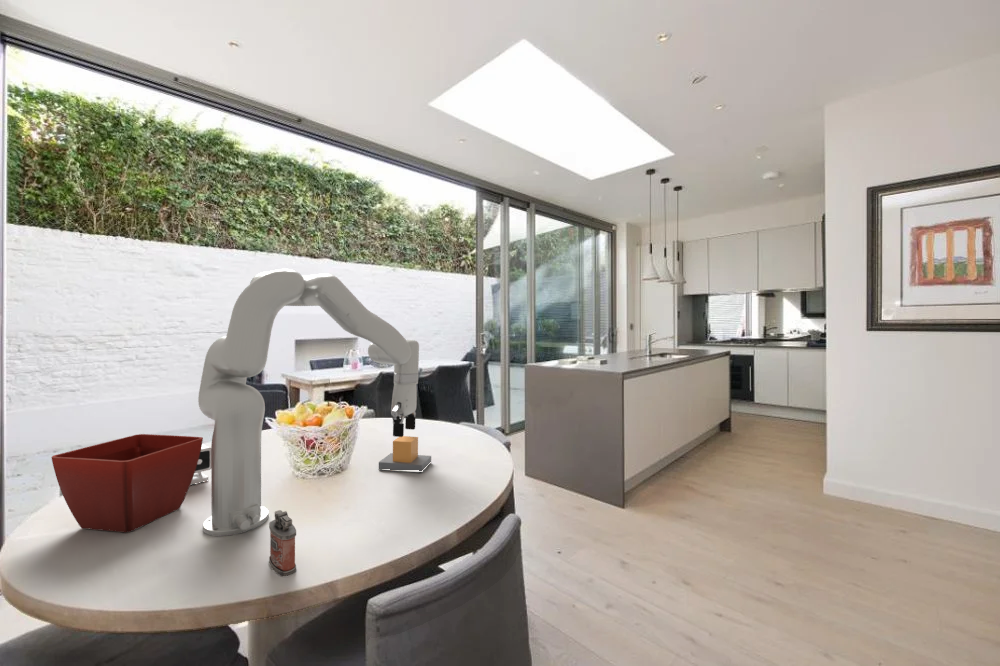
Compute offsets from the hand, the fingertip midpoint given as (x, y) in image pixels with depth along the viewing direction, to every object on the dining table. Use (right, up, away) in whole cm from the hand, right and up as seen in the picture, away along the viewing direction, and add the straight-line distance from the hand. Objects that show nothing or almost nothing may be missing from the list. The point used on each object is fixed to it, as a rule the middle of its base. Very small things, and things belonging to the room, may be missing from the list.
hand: (404, 432), depth 131 cm
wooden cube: (0, -9, +1) cm, 9 cm away
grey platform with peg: (0, -11, +1) cm, 11 cm away
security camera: (-56, -11, -14) cm, 59 cm away
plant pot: (-54, -11, -35) cm, 66 cm away
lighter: (-11, -12, -53) cm, 56 cm away
